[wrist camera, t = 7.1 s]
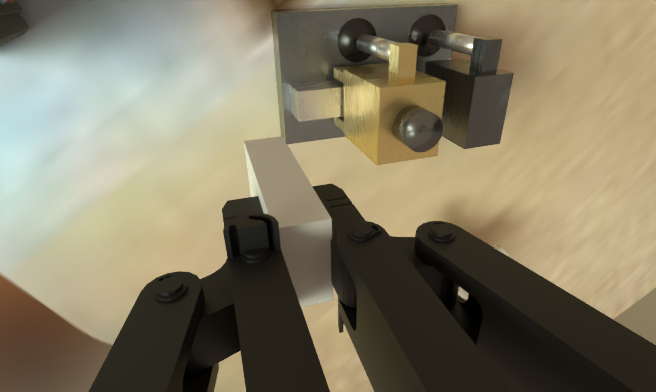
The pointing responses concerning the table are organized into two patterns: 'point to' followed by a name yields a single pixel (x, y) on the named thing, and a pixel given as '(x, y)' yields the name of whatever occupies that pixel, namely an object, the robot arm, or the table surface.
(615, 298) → the table surface
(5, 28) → the card reader
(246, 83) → the table surface
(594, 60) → the table surface
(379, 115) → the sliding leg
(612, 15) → the table surface
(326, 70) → the bolt plate
